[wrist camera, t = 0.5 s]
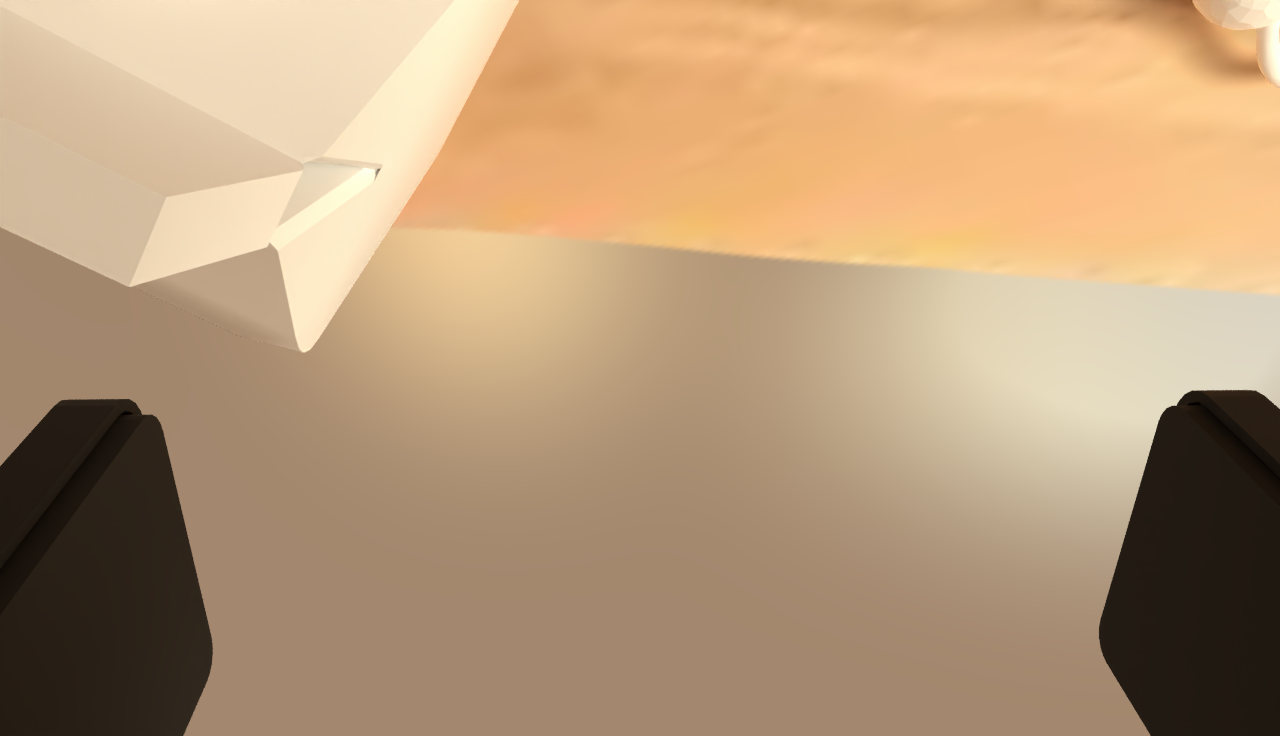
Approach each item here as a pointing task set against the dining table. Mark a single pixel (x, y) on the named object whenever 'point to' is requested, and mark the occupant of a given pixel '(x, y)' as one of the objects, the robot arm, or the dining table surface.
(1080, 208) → the dining table surface
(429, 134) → the milk
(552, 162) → the dining table surface
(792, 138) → the dining table surface
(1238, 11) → the tangled rod sculpture
